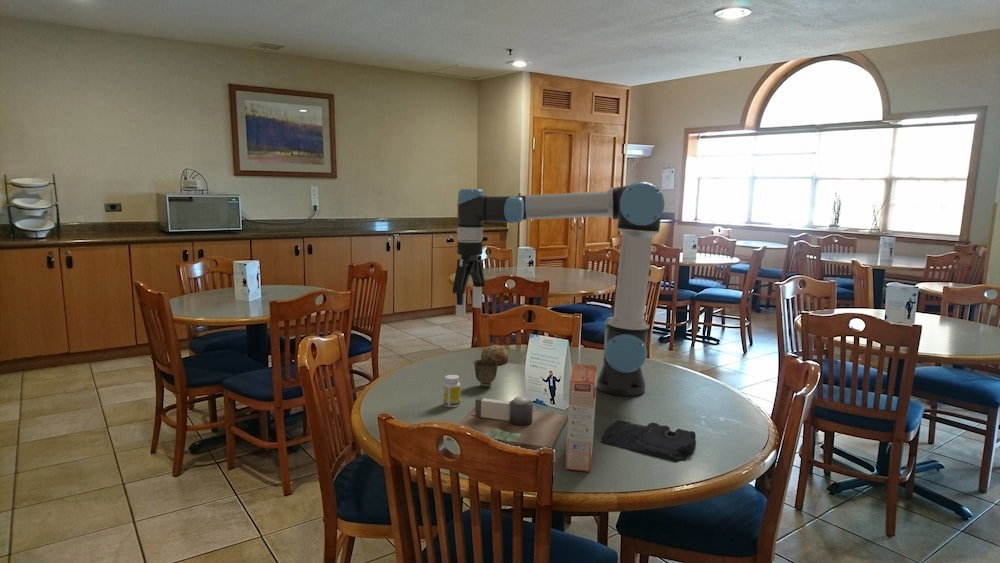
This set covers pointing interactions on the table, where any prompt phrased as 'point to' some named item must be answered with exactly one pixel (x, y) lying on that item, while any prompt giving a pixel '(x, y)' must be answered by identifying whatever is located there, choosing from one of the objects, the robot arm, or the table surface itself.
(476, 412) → the peg dial
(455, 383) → the supplement bottle
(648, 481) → the table surface
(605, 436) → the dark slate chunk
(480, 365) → the cup
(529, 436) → the brown flat panel
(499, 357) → the bread roll
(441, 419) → the table surface
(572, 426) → the cracker box
